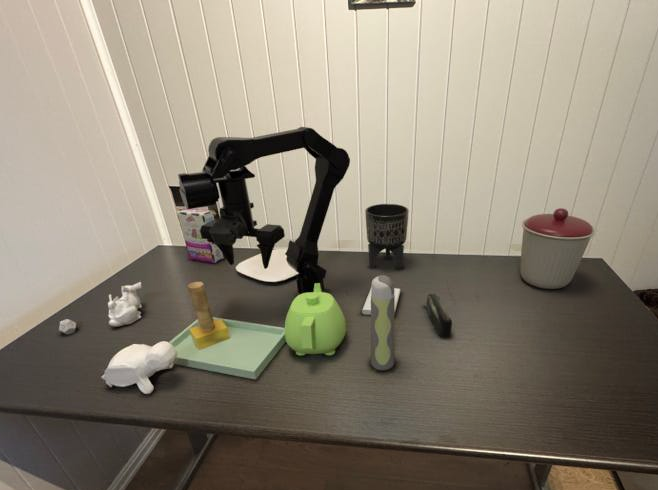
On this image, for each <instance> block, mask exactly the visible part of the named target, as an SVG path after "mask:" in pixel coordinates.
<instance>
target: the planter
mask: <svg viewBox="0 0 658 490" xmlns="http://www.w3.org/2000/svg"><path fill="white" fill-rule="evenodd" d="M409 212H410V211H409V208H408V207H406V206H404V205H402V204H396V203H379V204H374V205H370V206H368V207H366V209H365V210H364V214H365V227H366V228H365V229H366V240H367V242H368V244H367V250H368V264H369V268H370V269H374V268H375V266H376V265H375V264H376V261H377V258H378V256H379V254H380V253H381V252H382V251H383V250H385V259H387V260H389V259H391V253H392V255H393V256H394V259H395V262H396V269H397V270H402V269H403V265H404V264H403V263H404V250H405V249H404V248H405V245H404V244H405V243H406V242H407V237H408V236H407V235H408V223H409Z"/></svg>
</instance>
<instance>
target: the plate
mask: <svg viewBox="0 0 658 490" xmlns="http://www.w3.org/2000/svg"><path fill="white" fill-rule="evenodd" d="M287 250H288V248H275V249H274V248H273V251H272V254H271V258H270V261H269V265H268V268H266V269H264V266H263V262H262V256H261V253H259V254H256V255H254V256H252V257H249V258H247V259H244V260H243V261H241V262H238V264H237V265H236V266H235V270H236V272H238V273H240V274H242V275H243V276H246V277H248V278H251V279H253V280H257V281H261V282H264V283H278V282H284V281H286V280H290V279H291V278H294V277H297V276H298V275H299V273H298V272H296V271H295V270H294V269H293V268H292V267H290V266H289V265H288V263H287V260H286V258H287V256H286V255H285V253H286V252H287Z"/></svg>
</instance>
